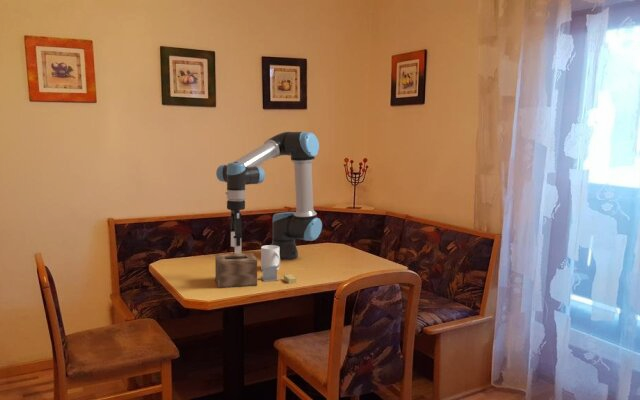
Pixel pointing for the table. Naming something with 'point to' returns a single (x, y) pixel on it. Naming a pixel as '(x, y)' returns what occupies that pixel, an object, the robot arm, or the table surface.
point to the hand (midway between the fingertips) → (235, 249)
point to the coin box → (236, 270)
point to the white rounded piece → (270, 256)
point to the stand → (269, 273)
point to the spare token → (290, 278)
